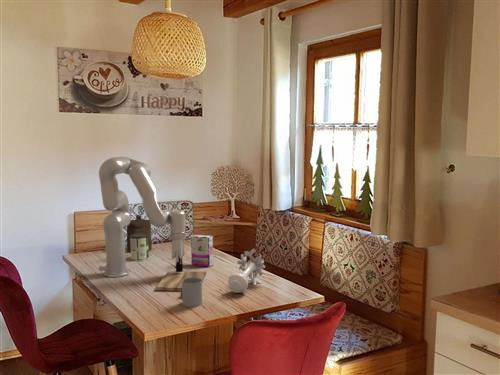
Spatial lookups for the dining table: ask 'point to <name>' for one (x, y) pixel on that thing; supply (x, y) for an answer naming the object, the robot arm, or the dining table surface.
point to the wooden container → (139, 230)
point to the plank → (170, 281)
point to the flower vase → (246, 272)
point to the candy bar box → (202, 250)
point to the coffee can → (139, 247)
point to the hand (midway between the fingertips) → (179, 271)
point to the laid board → (191, 275)
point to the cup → (192, 292)
